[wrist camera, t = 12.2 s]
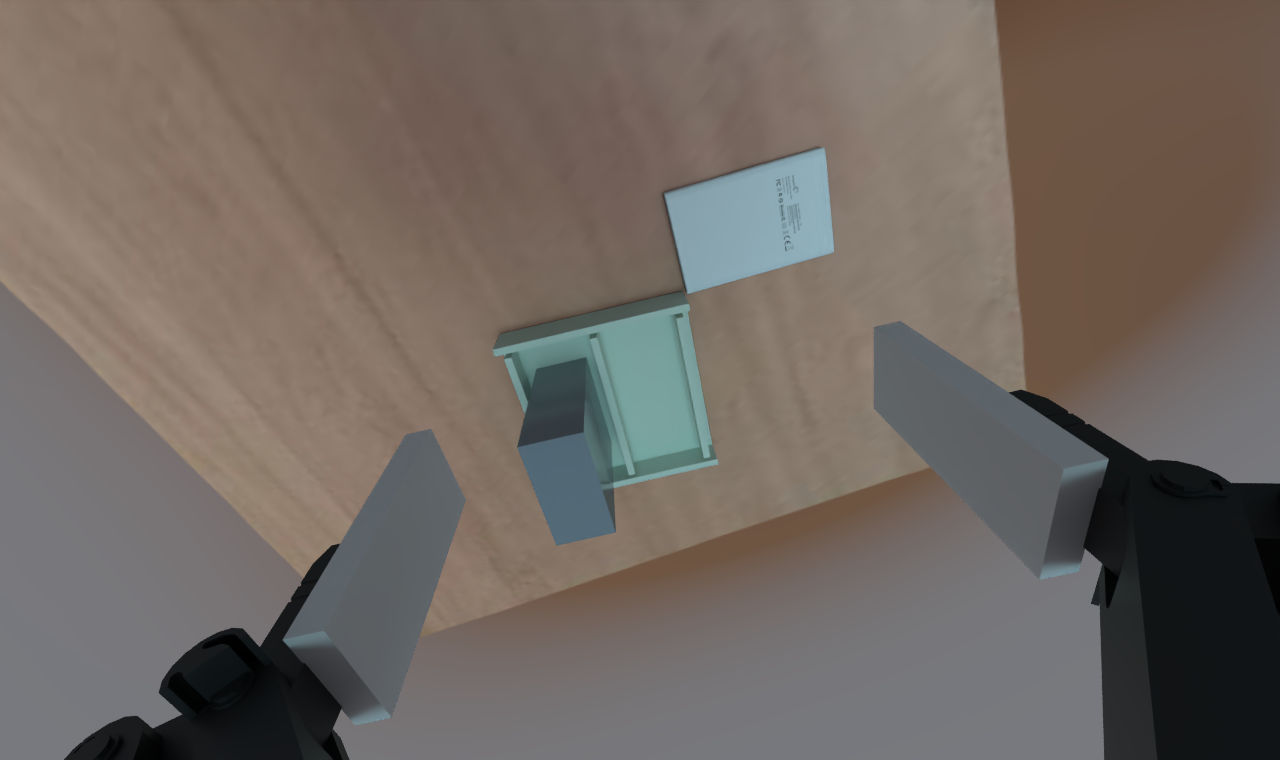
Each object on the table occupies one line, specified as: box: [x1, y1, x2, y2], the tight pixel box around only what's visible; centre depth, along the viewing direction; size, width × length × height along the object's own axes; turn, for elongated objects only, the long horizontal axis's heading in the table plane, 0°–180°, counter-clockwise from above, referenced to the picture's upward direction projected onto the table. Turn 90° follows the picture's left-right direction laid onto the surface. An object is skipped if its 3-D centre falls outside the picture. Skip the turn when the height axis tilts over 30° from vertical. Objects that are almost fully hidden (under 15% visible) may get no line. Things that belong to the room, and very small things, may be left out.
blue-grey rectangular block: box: [517, 357, 616, 545], centre depth 41 cm, size 9×4×12 cm, turn 12°
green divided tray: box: [493, 291, 718, 488], centre depth 45 cm, size 16×16×3 cm
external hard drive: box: [663, 147, 834, 294], centre depth 41 cm, size 2×8×12 cm
